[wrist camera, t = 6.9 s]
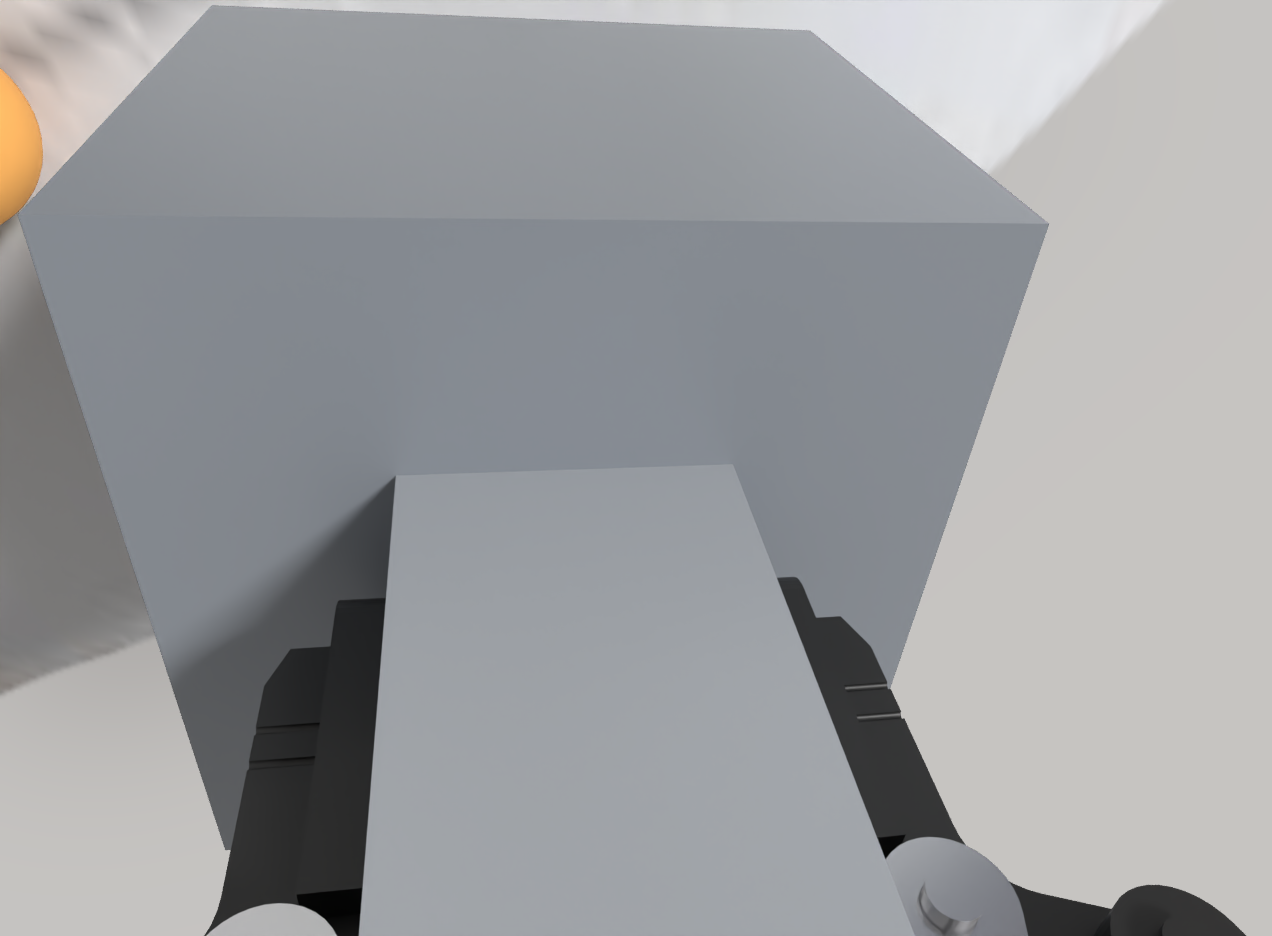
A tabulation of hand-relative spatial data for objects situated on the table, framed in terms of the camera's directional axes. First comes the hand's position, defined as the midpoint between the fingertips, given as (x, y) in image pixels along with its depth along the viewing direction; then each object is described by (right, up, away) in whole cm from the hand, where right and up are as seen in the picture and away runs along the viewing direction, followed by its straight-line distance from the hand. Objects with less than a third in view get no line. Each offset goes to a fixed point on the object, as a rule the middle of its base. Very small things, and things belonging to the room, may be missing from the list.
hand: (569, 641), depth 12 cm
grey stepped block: (-1, +6, +8) cm, 10 cm away
